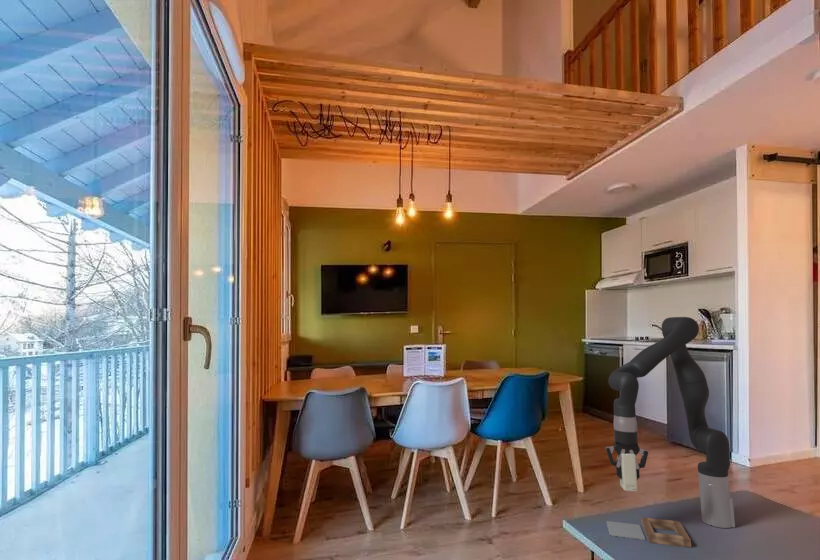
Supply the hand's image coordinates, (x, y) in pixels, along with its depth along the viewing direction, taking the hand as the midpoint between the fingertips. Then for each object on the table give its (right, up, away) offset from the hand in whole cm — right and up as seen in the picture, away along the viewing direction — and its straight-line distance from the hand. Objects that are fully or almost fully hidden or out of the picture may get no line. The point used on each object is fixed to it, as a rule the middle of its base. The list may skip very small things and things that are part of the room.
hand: (627, 478), depth 155 cm
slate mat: (-1, -18, -1) cm, 18 cm away
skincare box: (0, -4, 0) cm, 4 cm away
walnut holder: (+10, -17, -5) cm, 21 cm away
